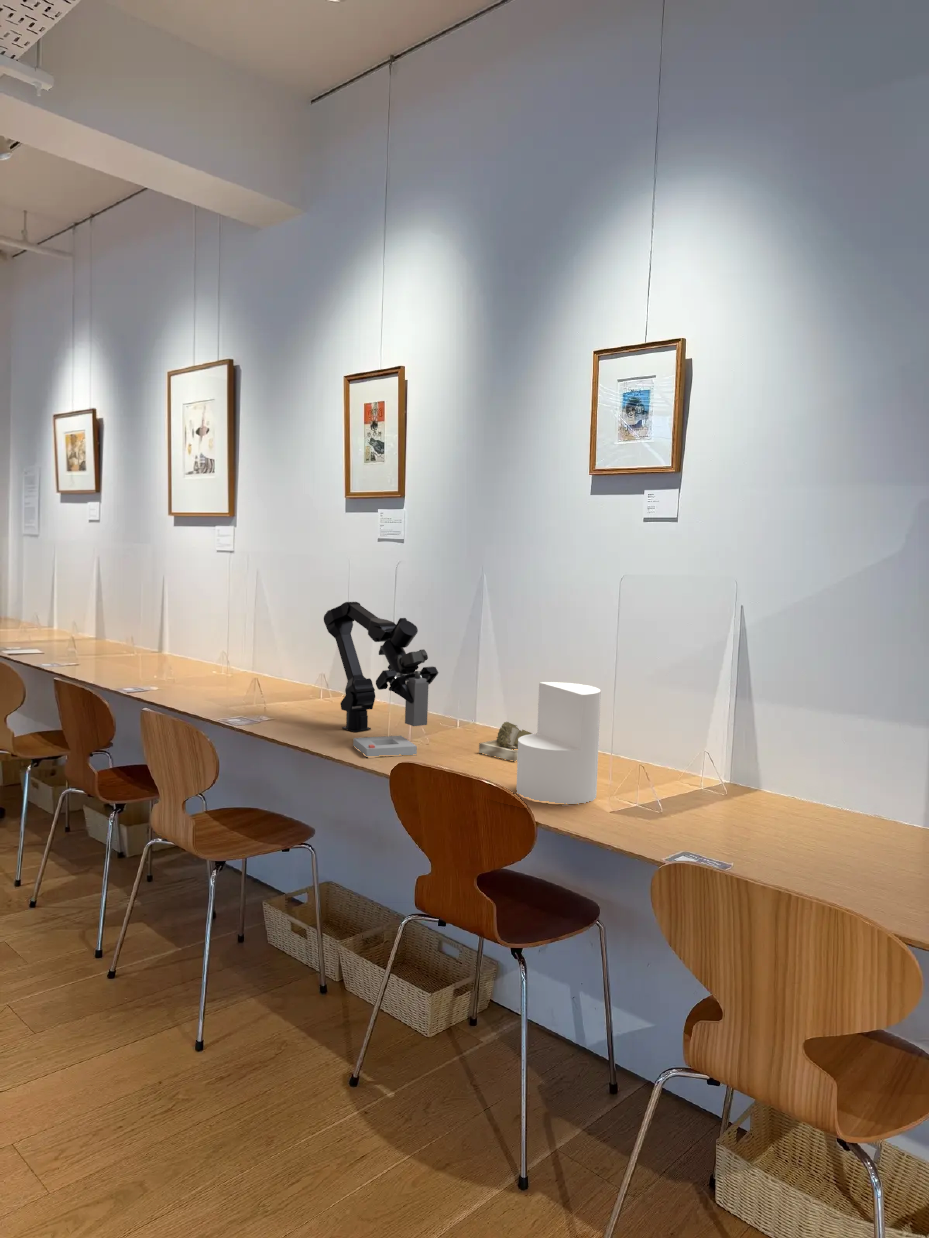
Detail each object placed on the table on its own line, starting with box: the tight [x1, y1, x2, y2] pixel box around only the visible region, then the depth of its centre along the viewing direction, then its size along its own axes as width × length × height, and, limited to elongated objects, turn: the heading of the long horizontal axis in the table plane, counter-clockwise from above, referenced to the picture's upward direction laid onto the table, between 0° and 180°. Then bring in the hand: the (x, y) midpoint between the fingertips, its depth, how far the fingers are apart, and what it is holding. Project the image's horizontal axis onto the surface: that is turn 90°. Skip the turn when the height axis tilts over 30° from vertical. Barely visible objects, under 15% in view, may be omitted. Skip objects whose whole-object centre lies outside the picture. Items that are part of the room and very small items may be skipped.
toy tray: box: [478, 739, 518, 761], centre depth 254 cm, size 13×21×3 cm, turn 136°
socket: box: [352, 735, 418, 756], centre depth 251 cm, size 14×14×3 cm
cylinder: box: [516, 681, 602, 805], centre depth 212 cm, size 19×19×25 cm
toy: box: [496, 721, 534, 749], centre depth 254 cm, size 7×7×15 cm
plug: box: [404, 670, 430, 727], centre depth 254 cm, size 4×4×15 cm
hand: (419, 701), depth 253 cm, fingers closed on plug, 5 cm apart
